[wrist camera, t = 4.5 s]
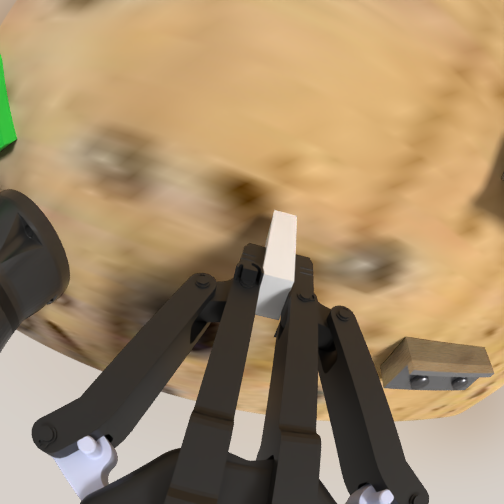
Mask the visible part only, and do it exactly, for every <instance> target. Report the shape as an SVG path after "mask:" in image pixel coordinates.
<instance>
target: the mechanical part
mask: <svg viewBox="0 0 504 504" xmlns="http://www.w3.org/2000/svg"><path fill="white" fill-rule="evenodd" d="M15 140H17V137H16V133H15V129H14V125H13V121H12V117H11V112H10V107H9V102H8V97H7V91H6V85H5V79H4V71H3V63H2V58H1V55H0V151H1V150H3V149H4V148H5V147H7V146H8V145H9V144H11V143H12V142H14V141H15Z"/></svg>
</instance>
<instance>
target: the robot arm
mask: <svg viewBox="0 0 504 504" xmlns="http://www.w3.org/2000/svg"><path fill="white" fill-rule="evenodd" d="M296 228H297V216H295V215H291V214H288V213H284V212H280V211H276V210H274V213H273V217H272V221H271V225H270V228H269V232H268V236H267V239H266V243H265V247H262V246H258V245H254V244H251V243H249V244H248V245H247V246H245V247H244V250H243V253H242V256H241V259H240V262H239V263H238V264H237V266H236V269H235V274H234V278H233V279H231V280H229V281H224V282H216V280H215V278H214V277H213V276H211V275H209V274H206V273H197V274H194V275H192V276H191V277H190V278H189V279H188V280H187V281H186V282H185V283H184V284H183V285H182V286H181V287H180V288H179V289H178V290H177V291H176V292H175V293H174V295H173V296H172V297H171V298H170V299H169V300H168V301H167V302H166V303H165V304H164V305H163V306H162V307H161V308H160V309H159V311H158V312H157V313H156V314H155V315H154V316H153V317H152V318H151V319H150V320H149V321H148V322H147V323H146V325H145V326H144V327H143V328H142V329H141V330H140V331H139V332H138V333H137V334H136V335H135V336H134V338H133V339H132V340H131V341H130V342H129V343H128V344H127V345H126V346H125V347H124V349H123V350H122V351H121V352H120V353H119V354H118V355H117V356H116V357H115V358H114V360H113V361H112V362H111V363H110V364H109V365H108V366H107V367H106V369H105V370H104V371H103V372H102V373H101V374H100V375H99V376H98V378H97V379H96V380H95V381H94V382H93V383H92V384H91V385H90V387H89V388H88V389H87V390H86V391H85V392H84V393H83V395H82V396H81V397H80V398H78V399H76V400H74V401H72V402H71V403H69V404H67V405H65V406H63V407H61V408H59V409H57V410H55V411H54V412H52V413H50V414H48V415H46V416H44V417H42V418H40V419H39V420H37V421H36V422H35V423H34V425H33V428H32V438H33V441H34V443H35V444H36V446H37V447H38V448H39V449H41V450H42V451H44V452H45V453H47V454H49V455H50V456H51V457H53V459H54V460H55V462H56V463H57V465H58V467H59V468H60V470H61V471H62V473H63V475H64V476H65V478H66V479H67V481H68V482H69V484H70V485H71V487H72V488H73V489H74V491H75V492H76V494H77V495H78V497H79V498H80V499H81V503H80V504H337V503H336V502H335V500H334V499H333V498H332V496H331V495H330V493H329V492H328V490H327V489H326V488H325V486H324V485H323V484H322V482H321V481H320V479H319V471H320V470H319V469H320V456H321V438H320V436H319V435H318V434H317V433H316V418H317V391H318V372H319V376H320V380H321V384H322V388H323V392H324V396H325V401H326V405H327V409H328V413H329V417H330V422H331V426H332V430H333V435H334V439H335V444H336V448H337V453H338V457H339V462H340V467H341V471H342V475H343V479H344V482H345V485H346V487H347V490H348V492H349V494H350V497H349V498H348V500H347V502H346V504H428V503H429V495H428V493H427V491H426V489H425V488H424V486H423V485H422V483H421V482H420V481H419V479H418V478H417V476H416V475H415V474H414V472H413V470H412V469H411V468H410V466H409V465H408V463H407V462H406V460H405V457H404V453H403V450H402V446H401V443H400V440H399V436H398V433H397V430H396V427H395V424H394V420H393V417H392V414H391V411H390V408H389V405H388V402H387V399H386V396H385V394H384V391H383V388H382V385H381V382H380V379H379V377H378V374H377V371H376V368H375V366H374V363H373V360H372V358H371V355H370V353H369V350H368V347H367V345H366V342H365V340H364V337H363V335H362V332H361V330H360V327H359V325H358V322H357V320H356V317H355V315H354V314H353V312H352V311H351V310H350V309H348V308H346V307H344V306H335V307H333V308H332V309H329V308H327V307H325V306H323V305H322V304H320V303H319V302H318V300H317V296H316V295H315V294H314V285H313V263H312V262H311V260H310V258H308V257H304V256H300V255H296ZM69 279H70V271H69V264H68V260H67V256H66V253H65V251H64V248H63V246H62V243H61V241H60V239H59V237H58V235H57V233H56V231H55V230H54V228H53V226H52V225H51V223H50V222H49V220H48V219H47V217H46V216H45V215H44V213H43V212H42V211H41V210H40V209H39V207H38V206H37V205H36V204H35V203H34V202H33V201H32V200H31V199H29V198H28V197H27V196H25V195H24V194H22V193H21V192H18V191H16V190H12V189H7V190H3V191H2V192H0V352H1V351H2V349H3V347H4V346H5V344H6V343H7V342H8V340H9V339H10V337H11V335H12V334H13V333H14V331H15V330H16V329H17V327H18V326H19V325H20V324H21V322H22V321H23V320H25V319H26V318H28V317H30V316H31V315H33V314H34V313H36V312H37V311H39V310H40V309H41V308H43V307H44V306H45V305H46V304H51V303H53V302H54V301H56V300H57V299H58V298H59V297H60V296H61V294H62V293H63V292H64V291H65V289H66V288H67V286H68V284H69ZM255 315H259V316H263V317H267V318H272V319H276V320H279V318H280V316H281V320H280V323H279V326H278V328H277V330H276V333H275V335H274V337H276V336H277V337H276V345H275V352H274V360H273V367H272V375H271V382H270V389H269V396H268V403H267V410H266V416H265V423H264V430H263V435H262V442H261V446H260V450H259V452H258V455H257V458H256V461H248V460H245V459H243V458H240V457H238V456H236V455H234V454H231V453H229V452H228V450H229V445H230V441H231V436H232V430H233V425H234V415H235V410H236V406H237V401H238V396H239V391H240V386H241V382H242V377H243V372H244V367H245V362H246V357H247V352H248V347H249V342H250V337H251V332H252V327H253V322H254V317H255ZM211 322H220V324H219V328H218V331H217V334H216V337H215V341H214V344H213V347H212V351H211V354H210V357H209V360H208V364H207V367H206V370H205V374H204V377H203V380H202V384H201V387H200V390H199V394H198V397H197V400H196V404H195V407H194V410H193V412H192V414H191V416H190V420H189V423H188V427H187V429H186V433H185V436H184V440H183V443H182V446H181V448H178V449H174V450H171V451H168V452H166V453H164V454H162V455H161V456H159V457H157V458H156V459H154V460H152V461H151V462H149V463H147V464H146V465H144V466H142V467H140V468H139V469H137V470H135V471H133V472H131V473H130V474H128V475H126V476H124V477H122V478H120V479H119V480H117V481H115V482H113V483H111V484H109V483H108V475H109V473H110V471H111V470H112V469H113V468H114V467H115V466H116V464H117V460H118V456H117V453H116V450H115V449H114V448H115V447H117V446H118V445H119V444H120V443H121V442H122V441H124V440H125V438H126V437H127V436H128V435H129V434H130V432H131V431H132V430H133V429H134V427H135V426H136V425H137V423H138V422H139V420H140V419H141V417H142V416H143V415H144V414H145V412H146V411H147V410H148V408H149V407H150V406H151V404H152V403H153V401H154V400H155V398H156V397H157V396H158V395H159V393H160V392H161V391H162V389H163V388H164V387H165V385H166V384H167V382H168V381H169V380H170V378H171V377H172V376H173V374H174V373H175V371H176V370H177V369H178V367H179V366H180V365H181V363H182V362H183V361H184V359H185V358H186V356H187V355H188V354H189V352H190V351H191V350H192V348H193V347H194V345H195V344H196V343H197V341H198V340H199V339H200V337H201V336H202V334H203V333H204V332H205V330H206V329H207V328H208V326H209V325H210V323H211Z"/></svg>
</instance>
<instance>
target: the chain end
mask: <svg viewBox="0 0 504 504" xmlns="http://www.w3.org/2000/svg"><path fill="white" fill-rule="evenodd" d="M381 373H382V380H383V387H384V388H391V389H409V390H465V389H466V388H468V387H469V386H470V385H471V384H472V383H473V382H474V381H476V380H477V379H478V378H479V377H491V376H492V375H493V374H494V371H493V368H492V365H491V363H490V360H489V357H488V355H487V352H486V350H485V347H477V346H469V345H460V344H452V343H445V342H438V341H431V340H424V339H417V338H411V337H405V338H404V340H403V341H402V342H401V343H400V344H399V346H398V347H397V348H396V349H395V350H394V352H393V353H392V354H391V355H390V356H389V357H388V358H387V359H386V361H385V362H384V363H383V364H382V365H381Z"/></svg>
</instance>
